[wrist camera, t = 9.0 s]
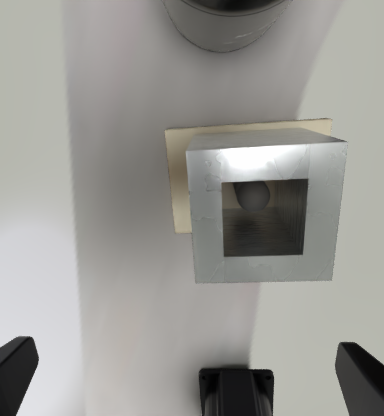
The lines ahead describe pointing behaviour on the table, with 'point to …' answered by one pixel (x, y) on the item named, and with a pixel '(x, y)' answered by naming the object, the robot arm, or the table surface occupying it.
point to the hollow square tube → (269, 216)
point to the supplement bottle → (224, 21)
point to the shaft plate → (231, 191)
